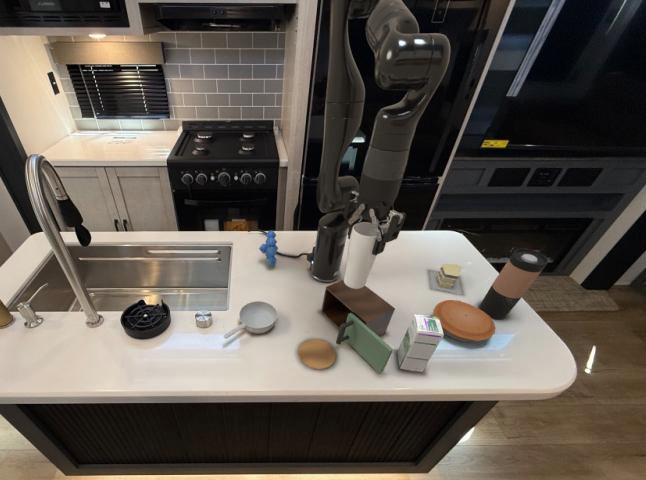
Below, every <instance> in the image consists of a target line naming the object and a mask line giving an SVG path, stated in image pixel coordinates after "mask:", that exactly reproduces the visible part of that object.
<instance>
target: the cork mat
mask: <svg viewBox="0 0 646 480" xmlns="http://www.w3.org/2000/svg"><path fill="white" fill-rule="evenodd" d="M298 357H299V359H300V361H301V362H302V364H304V365H305V366H306V367H308V368H310V369H313V370H326V369H329V368H330V367H332V366H333V365H334V363H335V361H336V358H337V355H336V351H335V349H334V348H333V346H332V345H331V344H329V343H328V342H326V341H325V340H322V339H309V340H308V339H307V340H306V341H304V342H303V343H302V344H301V345H300V346H299V349H298Z"/></svg>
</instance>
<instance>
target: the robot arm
mask: <svg viewBox="0 0 646 480" xmlns="http://www.w3.org/2000/svg"><path fill="white" fill-rule="evenodd" d="M329 9H330V11H329V18H330V19H329V57H328V71H327V81H326V82H327V83H326V93H325V105H324V118H323V119H324V121H323V138H322V151H321V159H320V166H319V173H318V177H317V184H316V185H317V186H316V204H317V208H318V209H319V211H320V212H321V213H323V214H325V215H323V216H321V218H319V221H318V223H317V229H316V238H315V245H314V246H313V247H312V250H311V252H310V253H309V252H301V253H299V254H298V255H288V254H285V253H281V252H279V251H277V253H276V254H275V255H279V256H281V257H285V258H291V259H299V258H301V257H303V256H306V261H307V262H308V263H310V265H309V271H310V275H311V277H312V278H313V279H314V280H316V281H318V282H322V283H332V282H334V281H337V280H338V278H339V275H340V271H341V270H340V269H341V266H342V261H343V256H344V251H345V247H346V243H347V239H348V241H349V240H350V235H351V232H352V228H353V226H354V225H355V224H357V223H360V222H362V220H366V221H367V222H370V223H372V225H373V230H375V231H376V237H377V239H376V241H375V244H374V248H373V251H372V254H373V255H377V256H378V255H380V254H382V253H383V252H384V251H385V248H386V245H387V243H391V242H392V241H395V240H397V239H398V237H399V236H400V232H401V230H402V228H403V224H404V222H405V220H406V216H407V214H406V213H405V212H403V211H402V212H398V211H396V210H395V207H394V203H395V201H396V200H397V197H398V195H399V192H400V189H401V185H402V182H403V178H404V175H405V171H406V169H407V166H408V161H409V158H410V157H409V156H410V150H411V146H412V145H413V141H414V137H415V133H416V130H417V127H418V124H419V122H420V119H421V118H422V116H423V114H424V112H425V110H426V109H427V107H428V105H429V104H430V101H431V99H432V98H433V96H434V94H435V92H436V91H437V89H438V87H439V86H440V84H441V82H442V81H443V79H444V76H445V75H446V72H447V70H448V67H449V64H450V60H451V52H452V51H451V44H450V40H449V38H448V37H447V35H446V34H443V33H437V32H433V33H430V32H429V33H420V27H419V23H418V21H417V19H416V17H415V16H414V14H413V13H412V12H411V11H410V9H409V8H408V6H406V4H405V3H404V2H403V0H330V8H329ZM355 19H356V20H357V19H366V23H365V24H366V25H365V36H366V40H367V43H368V46H369V47H370V49H371V51H372V52H373V54H374V70H373V71H374V72H373V73H374V74H373V75H374V81H375V83H376V85H377V86H378V87H379V88H381V89H382V90H385V91H389V92H390V91H391V92H393V91H407V92H406V94H405V95H404V97H403V98H402V99H401V100H400V101H399V102H397V103H395V104H391V105H387V106H385V107H382V108H380V109H378V111H377V112H376V114H375V118H374V121H373V127H372V131H371V136H370V139H369V140H370V141H369V145H368V148H367V151H366V154H365V157H364V162H363V167H362V170H361V175H360V180H359V181H358V180H357V178H356V177H354V176H352V175H343V176H339V173H340V169H341V165H342V162H343V159H344V157H345V155H346V153H347V151H348V149H349V148H350V146H351V144H353V141H354V140H355V138H356V136H357V134H358V133H359V130H360V128H361V125H362V122H363V119H364V110H365V102H366V95H367V93H366V92H367V91H366V87H365V83H364V80H363V77H362V76H361V72H360V70H359V68H358V66H357V63H356V61H355V58H354V56H353V53H352V50H351V45H350V39H349V20H355ZM381 222H382V223H381ZM380 223H381V224H380ZM253 231H254V232H255V231H256V232H259V233H263V234H264V235H266V234H267V233H268V231H266V230H263V229H260V228H250V229H248V230H247V232H248V233H250V232H253ZM382 231H383V234H382Z"/></svg>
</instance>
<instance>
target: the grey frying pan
mask: <svg viewBox="0 0 646 480" xmlns="http://www.w3.org/2000/svg"><path fill="white" fill-rule="evenodd" d="M277 319H278V312H277V310H276V307H274V306H273V305H272V304H271V303H268V302H266V301H261V300H260V301H251V302H248V303H246V304H244V305H243V306H242V307H241V308H240V310H239V320H240V323H241V324H239V325H238V326H236V327H234V328H233V329H231V330H230V331H228V332H227V333H225V334H224V335H223V338H224V339H229V338H230V337H232V336H233V335H235V334H236V333H238V332H240V331H241V330H242V329H244V328H245V330H247V331H248V332H250V333H252V334H264V333H265V334H266V332H269V331H270V330H271V329H272V328H273V327H274V326H275V325H276V323H277Z"/></svg>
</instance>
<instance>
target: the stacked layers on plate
mask: <svg viewBox="0 0 646 480" xmlns="http://www.w3.org/2000/svg"><path fill="white" fill-rule="evenodd" d="M462 270H463V269H462V267H461V266H460V265H458V264H456V263H442V264H441V267H440V268H439V271H438V272H437V271H430V270H429V277H430V287H431V289H432V290H435V291H441V292H447V293H450V294H451V293H452V294H456V295H457V294H458V295H462V288H461V284H460V280H459V277H460V275H461V273H462Z"/></svg>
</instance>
